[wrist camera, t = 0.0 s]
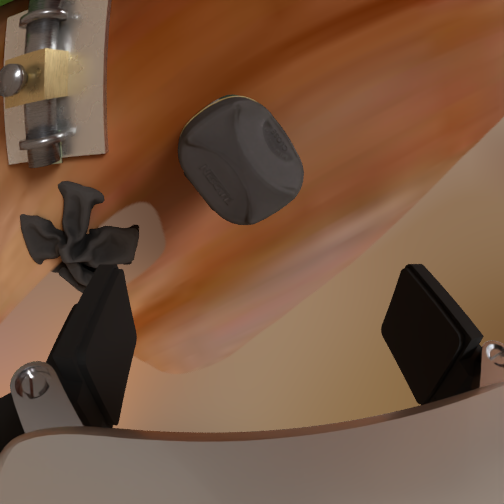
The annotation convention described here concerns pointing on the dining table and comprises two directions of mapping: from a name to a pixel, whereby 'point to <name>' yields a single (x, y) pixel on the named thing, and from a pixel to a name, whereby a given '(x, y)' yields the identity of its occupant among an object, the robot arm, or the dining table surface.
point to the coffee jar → (240, 160)
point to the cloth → (78, 238)
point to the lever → (12, 79)
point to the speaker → (4, 2)
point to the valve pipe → (58, 81)
